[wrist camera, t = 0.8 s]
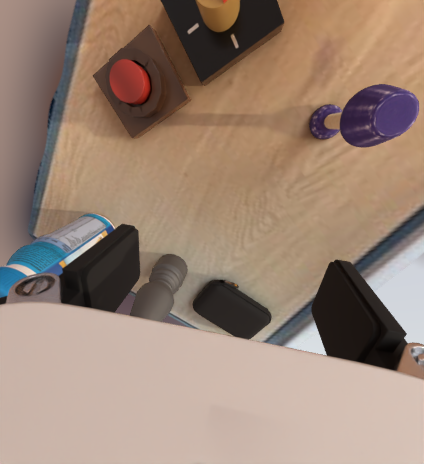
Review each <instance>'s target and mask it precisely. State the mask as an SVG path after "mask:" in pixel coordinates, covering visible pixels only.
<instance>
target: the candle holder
mask: <svg viewBox="0 0 424 464" xmlns="http://www.w3.org/2000/svg"><path fill="white" fill-rule="evenodd" d="M186 273H187V265H186V263H185V261H184V260H183V259H181V258H180V257H179V256H176V255H172V254H167V255H164V256H162V257H161V258H160V259H159V260H158V262H157V263H156V265H155V266H154V268H153V269H152V273H151V275H150V278H149V283H146V284H144V285H143V286H142V287H141V288H140V289H139V290H138V291H137V294H136V297H135V301H134V304H133V307H132V310H131V313H130V316H134V317H139V318H144V319H149V320H154V321H159V322H162V320H163V319H164V318H165V317H166V316H167V315H168V313H169V312H170V311H171V308H172V306H173V304H174V298H173V294H174V293H175V292H177V291H178V289H179V287H181V285H182V283H183V281H184V278H185V276H186Z"/></svg>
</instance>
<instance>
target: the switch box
mask: <svg viewBox="0 0 424 464" xmlns="http://www.w3.org/2000/svg"><path fill="white" fill-rule="evenodd" d="M121 59H128V60H131V61H133V62H134V63H136V64H137V65H139V66H141V67H142V68H143V69H144V70H145V71H146V73H147V74H148V76H149V79H150V84H151V89H150V94H149V96H148V98H147V100H146V101H145V102H143V103H141V104H137V105H136V104H130V103H126V102H123V101H121V100H120V99H119V98H118V97H117V96H116V95H115V94H114V92H113V90H112V88H111V85H110V71H111V68H112V66H113V65H114V64H115V63H116V62H117V61H119V60H121ZM93 77H94V78H95V80H96V82H97V83H98V85H99V86H100V88H101V90H102V91H103V93H104V94H105V96H106V97H107V99H108V101H109V102H110V104H111V105H112V107H113V109H114V110H115V112H116V113H117V115H118V116H119V118H120V120H121V121H122V123H123V124H124V126H125V128H126V129H127V131H128V132H129V134H130V136H131V137H132V138H139V137H140V136H142V135H143V134H144V133H146V132H147V131H149V130H150V129H152V128H153V127H154V126H156V125H157V124H159V123H160V122H161V121H163V120H164V119H166V118H167V117H169V116H170V115H171V114H173V113H174V112H176V111H177V110H178V109H180V108H181V107H183V106H184V105H186V104H187V103H188V102H190V101H191V99H190V97H189V95H188V93H187V91H186V90H185V88H184V86H183V84H182V82H181V80H180V78H179V76H178V74H177V72H176V70H175V68H174V66H173V64H172V62H171V60H170V59H169V57H168V55H167V53H166V51H165V49H164V47H163V45H162V43H161V41H160V39H159V37H158V35H157V33H156V31H155V30H154V29H153V28H152V27H151V26H150V25H148V26H147V27H146V28H145V29H144V30H143V31H142V32H141V33H140V34H138V35H137V36H136V37H135V38H134V39H133V40H132V41H131V42H130V43H128V44H127V45H126V46H125V47H124V48H121V49H120V50H119V51H118V52H117V53H116V54H115V55H113V56H112V57H111V58H110V59H109V62H108V63H106V64H105V65H104V66H103V67H102V68H101V69H100V70H99V71H98V72H96V73H95V74H94V75H93Z"/></svg>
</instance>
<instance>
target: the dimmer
mask: <svg viewBox="0 0 424 464" xmlns="http://www.w3.org/2000/svg"><path fill="white" fill-rule="evenodd" d="M161 2H162V4H163V6H164V8H165V10H166V12H167V14H168V16H169V18H170V20H171V22H172V24H173V26H174V28H175V30H176V32H177V34H178V36H179V38H180V40H181V42H182V45H183V47H184V49H185V51H186V53H187V55H188V57H189V59H190V61H191V63H192V65H193V67H194V69H195V71H196V73H197V75H198V77H199V79H200V81H201V83H202V84H203V85H204V86H205V85H207V84H208V83H210V82H211V81H212V80H214V79H215V78H217V77H218V76H219V75H221V74H222V73H223V72H225V71H226V70H228V69H229V68H230V67H232V66H233V65H235V64H236V63H237V62H239V61H240V60H242V59H243V58H244V57H246V56H247V55H249V54H250V53H251V52H253V51H254V50H256V49H257V48H258V47H260V46H261V45H263V44H264V43H265V42H267V41H268V40H270V39H271V38H272V37H274V36H275V35H277V34H278V33H279V32H281V30H282V27H283V24H284V19H283V17H282V14H281V11H280V8H279V5H278V2H277V0H240V8H239V13H238V16H237V19H236V21H235V22H234V24H233V25H232V26H231V27H230V28H229V29H227V30H225V31H223V32H215V31H213V30H211V29H209V28H208V27H207V26H206V24H205V23H204V21H203V18H202V16H201V13H200V11H199V8H198V5H197V3H196V0H161Z"/></svg>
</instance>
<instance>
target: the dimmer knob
mask: <svg viewBox="0 0 424 464" xmlns="http://www.w3.org/2000/svg"><path fill="white" fill-rule="evenodd" d="M196 3H197V5H198V8H199V11H200V13H201V16H202V18H203V21H204V23H205V24H206V26H207V27H208V28H209V29H211V30H213V31H215V32H223V31H225V30H227V29H229V28H230V27H231V26H232V25H233V24H234V22H235V21H236V19H237V16H238V13H239V8H240V0H196Z"/></svg>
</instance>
